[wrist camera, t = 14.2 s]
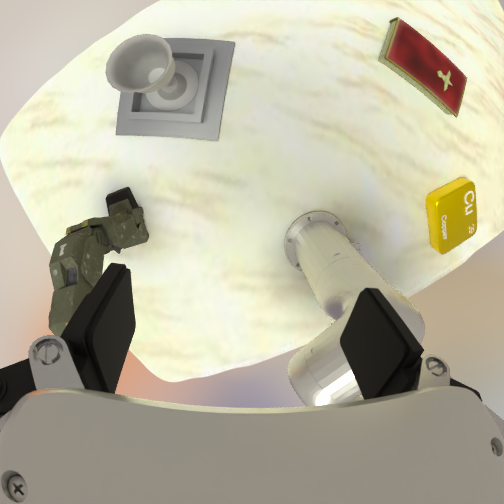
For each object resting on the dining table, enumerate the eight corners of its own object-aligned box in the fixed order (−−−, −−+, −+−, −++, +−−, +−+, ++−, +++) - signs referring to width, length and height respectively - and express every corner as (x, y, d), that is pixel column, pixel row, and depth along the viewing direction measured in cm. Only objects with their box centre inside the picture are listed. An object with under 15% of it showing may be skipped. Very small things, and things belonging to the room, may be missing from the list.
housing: (234, 43, 35) (235, 34, 30) (217, 140, 42) (216, 142, 38) (133, 41, 32) (123, 33, 28) (117, 135, 40) (106, 136, 35)
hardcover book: (388, 20, 33) (399, 15, 29) (456, 77, 37) (468, 76, 34) (374, 61, 37) (385, 57, 33) (445, 116, 42) (458, 117, 38)
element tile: (423, 195, 50) (436, 201, 46) (463, 174, 48) (476, 179, 44) (430, 249, 56) (441, 258, 52) (467, 226, 55) (478, 233, 50)
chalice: (152, 109, 38) (107, 101, 22) (148, 73, 35) (104, 46, 19) (195, 100, 38) (174, 82, 22) (191, 63, 35) (170, 26, 19)
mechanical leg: (93, 180, 42) (15, 309, 19) (126, 166, 42) (53, 299, 19) (124, 237, 51) (87, 373, 28) (155, 227, 51) (129, 371, 28)
